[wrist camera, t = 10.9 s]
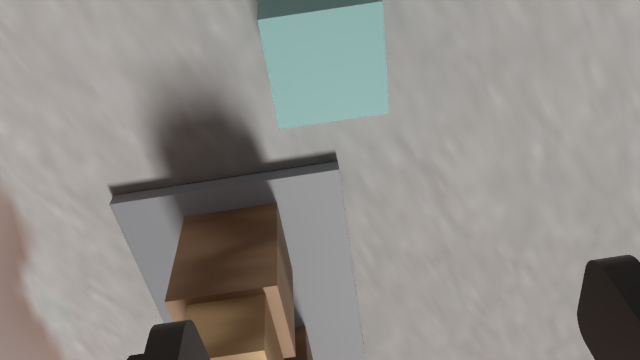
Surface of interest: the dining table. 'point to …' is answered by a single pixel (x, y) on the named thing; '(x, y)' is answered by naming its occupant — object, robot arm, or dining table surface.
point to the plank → (236, 328)
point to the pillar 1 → (235, 265)
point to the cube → (324, 59)
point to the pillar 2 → (301, 345)
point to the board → (300, 234)
